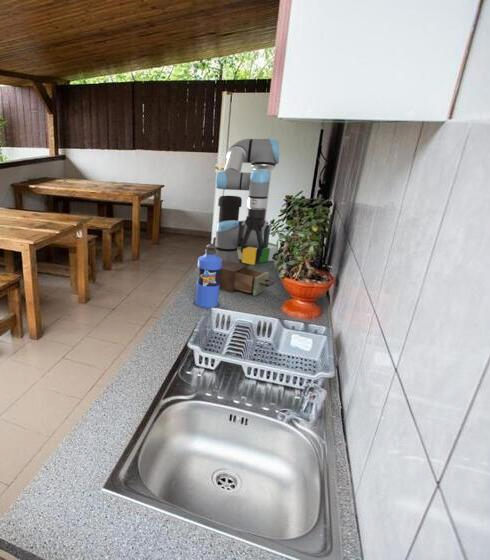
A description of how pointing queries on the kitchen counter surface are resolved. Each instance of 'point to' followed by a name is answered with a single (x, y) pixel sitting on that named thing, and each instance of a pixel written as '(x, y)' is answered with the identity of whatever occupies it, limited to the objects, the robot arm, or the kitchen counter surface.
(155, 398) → the kitchen counter surface
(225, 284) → the cabinet
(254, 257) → the toy block
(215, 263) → the water bottle
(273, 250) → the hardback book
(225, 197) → the grey black cylinder
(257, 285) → the drawer
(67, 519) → the kitchen counter surface
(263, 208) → the robot arm
